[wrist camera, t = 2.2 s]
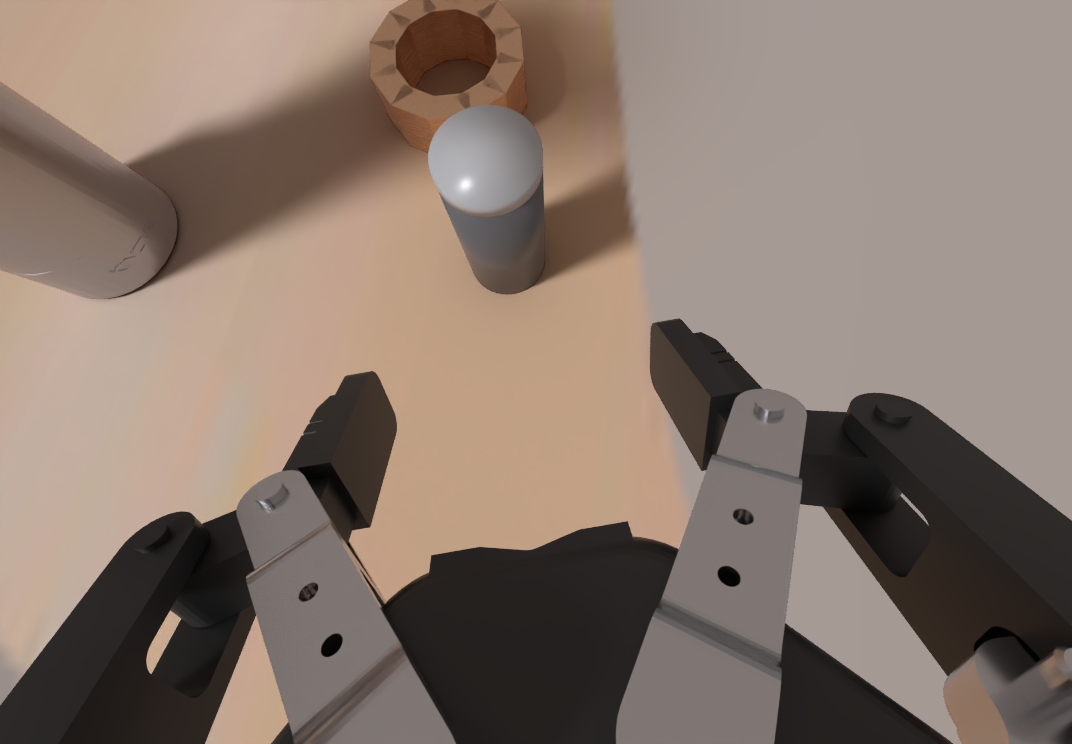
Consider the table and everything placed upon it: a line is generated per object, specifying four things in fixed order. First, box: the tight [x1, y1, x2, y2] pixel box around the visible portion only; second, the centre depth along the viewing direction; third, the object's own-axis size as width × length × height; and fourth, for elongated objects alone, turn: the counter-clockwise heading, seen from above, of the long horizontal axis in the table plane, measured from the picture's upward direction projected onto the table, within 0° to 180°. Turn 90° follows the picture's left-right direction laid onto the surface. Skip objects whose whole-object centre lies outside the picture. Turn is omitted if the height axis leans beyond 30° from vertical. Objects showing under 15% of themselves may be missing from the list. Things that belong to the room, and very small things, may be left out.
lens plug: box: [428, 105, 545, 294], centre depth 23 cm, size 5×5×10 cm
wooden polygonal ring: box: [370, 0, 527, 153], centre depth 28 cm, size 10×10×4 cm
